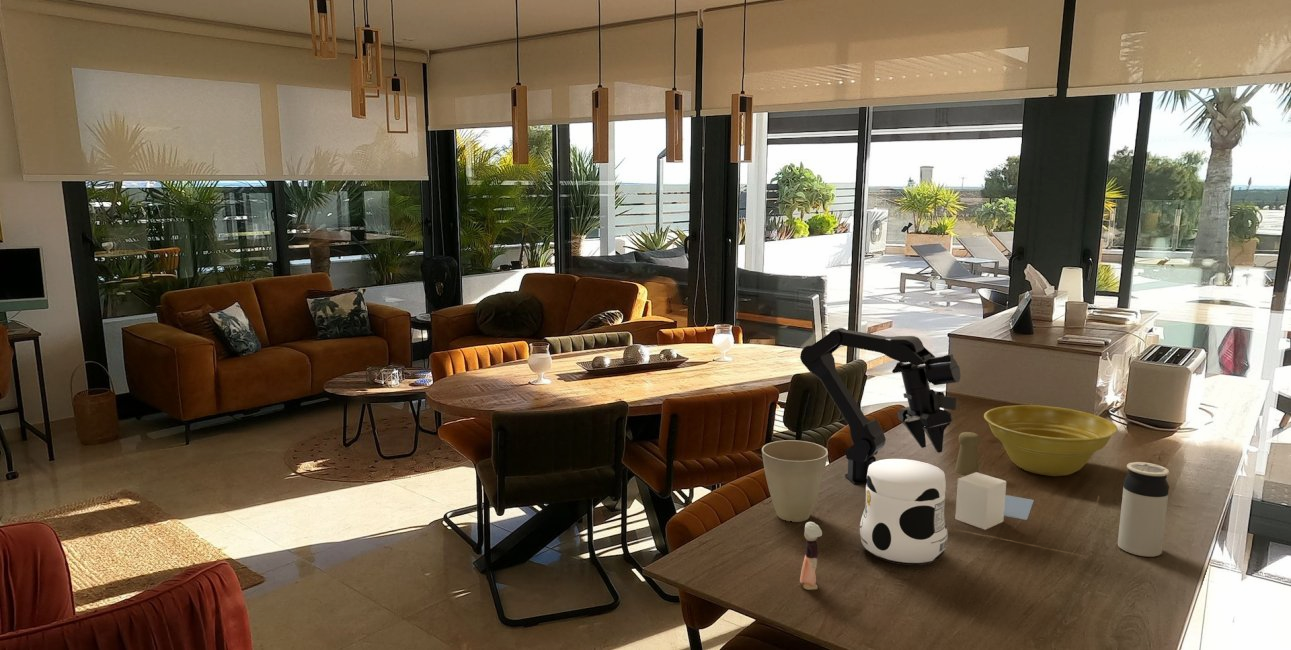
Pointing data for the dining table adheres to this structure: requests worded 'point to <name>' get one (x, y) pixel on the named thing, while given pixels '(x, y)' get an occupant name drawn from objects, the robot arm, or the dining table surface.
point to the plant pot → (794, 476)
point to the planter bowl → (1049, 437)
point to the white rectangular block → (980, 500)
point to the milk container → (904, 512)
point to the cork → (967, 453)
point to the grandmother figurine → (810, 556)
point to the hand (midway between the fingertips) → (931, 449)
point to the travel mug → (1143, 509)
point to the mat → (1017, 507)
